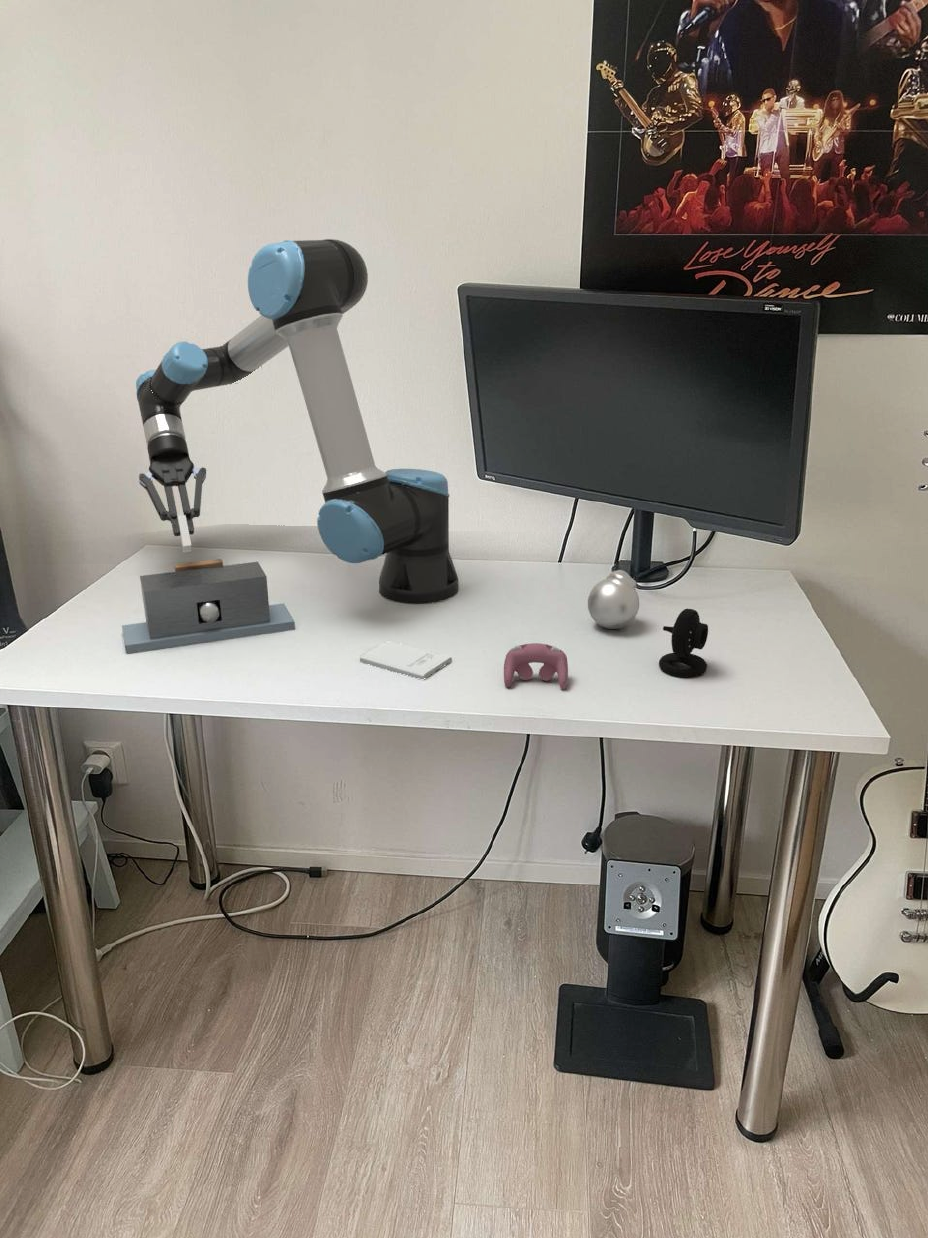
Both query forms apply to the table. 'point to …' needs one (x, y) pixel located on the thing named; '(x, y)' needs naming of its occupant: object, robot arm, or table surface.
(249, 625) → the housing
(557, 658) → the video game controller
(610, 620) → the silver bulbous ornament
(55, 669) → the table surface
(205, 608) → the brown wooden block
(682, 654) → the webcam
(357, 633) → the table surface
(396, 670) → the external hard drive
